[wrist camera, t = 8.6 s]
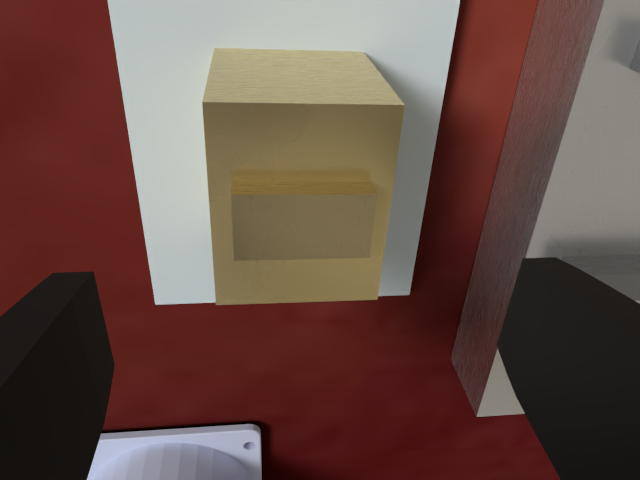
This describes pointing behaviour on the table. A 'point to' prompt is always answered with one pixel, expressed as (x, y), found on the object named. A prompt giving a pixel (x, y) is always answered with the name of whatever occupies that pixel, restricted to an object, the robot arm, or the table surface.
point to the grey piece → (559, 178)
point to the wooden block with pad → (298, 174)
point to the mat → (265, 33)
